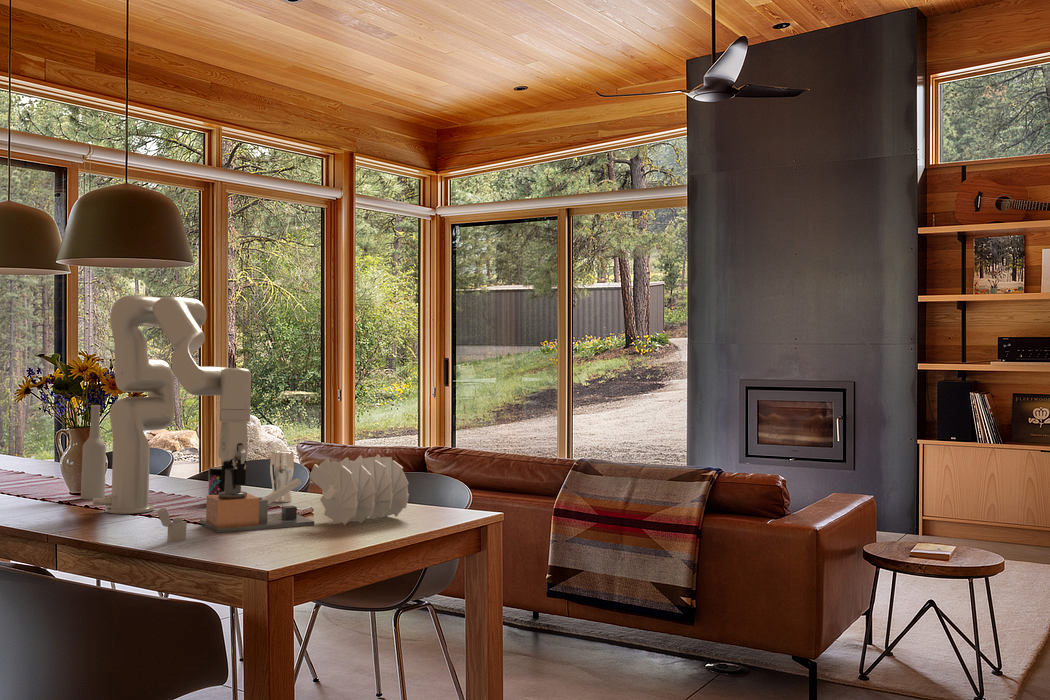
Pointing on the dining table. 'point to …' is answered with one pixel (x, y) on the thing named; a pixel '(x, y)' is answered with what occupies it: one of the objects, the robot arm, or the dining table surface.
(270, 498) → the latch lever
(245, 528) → the base
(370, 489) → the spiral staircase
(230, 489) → the steel pin
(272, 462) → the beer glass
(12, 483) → the dining table surface
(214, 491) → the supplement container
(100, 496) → the bottle
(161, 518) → the lighter
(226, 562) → the dining table surface
